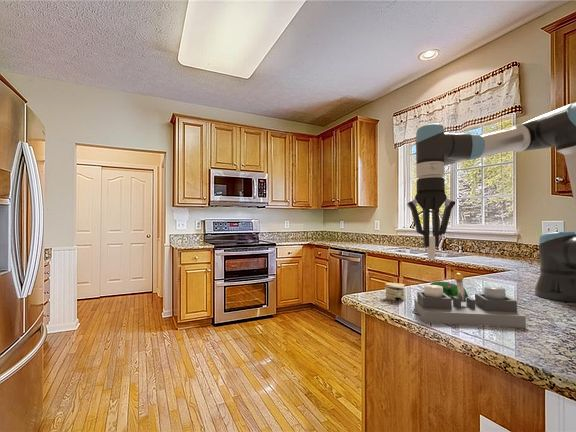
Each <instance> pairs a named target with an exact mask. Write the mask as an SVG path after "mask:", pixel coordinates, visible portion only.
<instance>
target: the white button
mask: <svg viewBox="0 0 576 432" xmlns="http://www.w3.org/2000/svg"><path fill="white" fill-rule="evenodd" d="M423 292H424V296H425V297H436V298H443V287H442V286H438V285H430V284H424V285H423Z"/></svg>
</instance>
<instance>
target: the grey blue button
mask: <svg viewBox="0 0 576 432" xmlns="http://www.w3.org/2000/svg"><path fill="white" fill-rule="evenodd" d="M506 291H507V290H506V288H505V287H500V286H491V285H487V286H483V294H484V297H485V298H486V299H494V300H506V296H507V295H506V293H507V292H506Z"/></svg>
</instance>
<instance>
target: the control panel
mask: <svg viewBox="0 0 576 432" xmlns="http://www.w3.org/2000/svg"><path fill="white" fill-rule="evenodd" d="M416 295H417V297H416V298H414V299H413V300H414V301H413V302H414V303H413V305H414V307H413V308H414V310H415V311H416V313H417V314H418V315H419V317H420V318H421V319H422V320H423V322H424V324H442V325H443V324H444V325H462V326H463V325H464V326H477V325H489V326H488V327H497V326H502V328H520V329H527V322H526V321H527V320H526V317H527V316H526V315H524V314H522V313H521V312H518V301H517V300H515V299H513V298H511V297H509V296H508V295H506V300H494V299H486V298H485V297H484V293H474V298H473V297H470V296H469V297H466V302H461V299H459V298H458V297H456V296H453V300H452V299H451V298H450V297H449V296H447V295H446V294H445V293H443V298H436V297H425V296H424V291H417V292H416Z"/></svg>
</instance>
